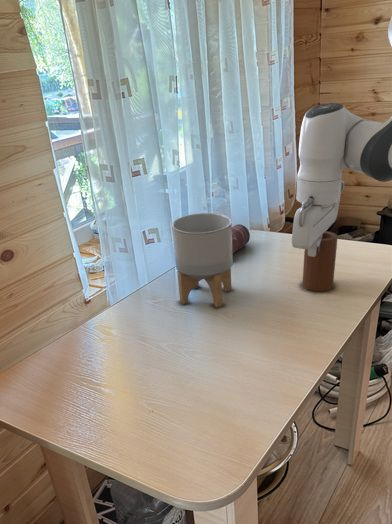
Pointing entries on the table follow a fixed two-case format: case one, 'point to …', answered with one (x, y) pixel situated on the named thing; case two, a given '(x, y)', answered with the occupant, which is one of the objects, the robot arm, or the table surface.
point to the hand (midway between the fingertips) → (313, 254)
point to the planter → (203, 253)
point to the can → (239, 237)
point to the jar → (321, 264)
